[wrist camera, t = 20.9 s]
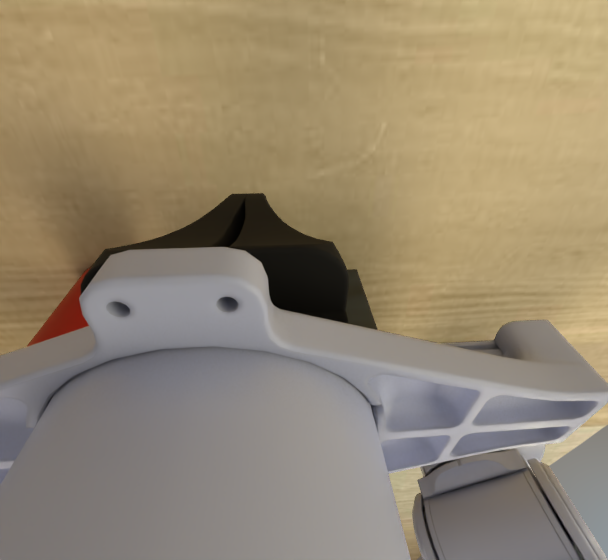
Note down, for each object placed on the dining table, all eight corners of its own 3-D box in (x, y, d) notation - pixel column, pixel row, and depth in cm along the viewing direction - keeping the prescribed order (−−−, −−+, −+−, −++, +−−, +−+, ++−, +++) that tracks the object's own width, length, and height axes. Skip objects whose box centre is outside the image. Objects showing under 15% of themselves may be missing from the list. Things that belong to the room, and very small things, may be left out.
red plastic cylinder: (141, 261, 20) (77, 374, 14) (159, 310, 23) (114, 424, 16) (69, 263, 20) (-32, 381, 13) (97, 313, 23) (25, 430, 16)
